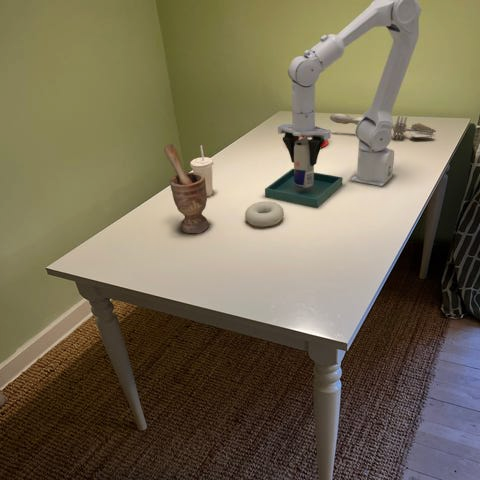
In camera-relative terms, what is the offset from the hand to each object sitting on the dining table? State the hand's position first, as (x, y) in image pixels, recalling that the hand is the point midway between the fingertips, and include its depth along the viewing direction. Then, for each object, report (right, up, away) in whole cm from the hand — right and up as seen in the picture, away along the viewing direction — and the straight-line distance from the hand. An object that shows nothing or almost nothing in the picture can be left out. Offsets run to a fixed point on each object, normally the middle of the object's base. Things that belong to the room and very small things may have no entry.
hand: (303, 162), depth 130 cm
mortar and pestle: (-30, -18, -5) cm, 35 cm away
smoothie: (-27, -6, +10) cm, 29 cm away
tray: (+1, -6, +5) cm, 8 cm away
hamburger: (+6, +17, +33) cm, 38 cm away
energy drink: (+1, -5, +4) cm, 7 cm away
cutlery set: (+30, +19, +32) cm, 48 cm away
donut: (-11, -17, -6) cm, 21 cm away
